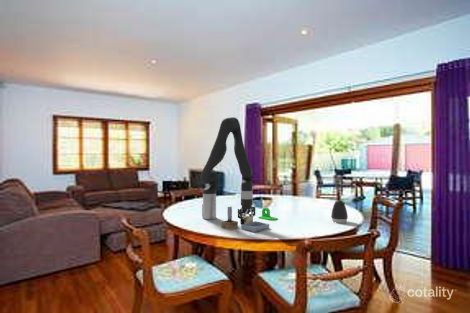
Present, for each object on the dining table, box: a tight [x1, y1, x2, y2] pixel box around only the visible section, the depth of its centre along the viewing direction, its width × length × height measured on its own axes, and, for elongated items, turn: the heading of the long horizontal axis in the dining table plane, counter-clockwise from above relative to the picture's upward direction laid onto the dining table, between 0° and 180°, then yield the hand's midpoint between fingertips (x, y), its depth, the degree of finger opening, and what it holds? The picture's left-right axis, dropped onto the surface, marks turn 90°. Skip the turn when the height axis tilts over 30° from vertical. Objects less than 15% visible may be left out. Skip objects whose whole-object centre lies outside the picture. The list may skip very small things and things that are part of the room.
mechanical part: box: [258, 207, 278, 221], centre depth 204 cm, size 12×6×8 cm, turn 47°
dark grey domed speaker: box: [330, 199, 349, 224], centre depth 194 cm, size 10×10×15 cm
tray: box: [240, 221, 270, 234], centre depth 177 cm, size 11×13×3 cm
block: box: [244, 215, 252, 224], centre depth 185 cm, size 5×5×6 cm
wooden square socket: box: [221, 219, 239, 231], centre depth 180 cm, size 7×7×4 cm
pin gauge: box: [227, 206, 233, 223], centre depth 180 cm, size 3×3×12 cm
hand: (246, 223), depth 185 cm, fingers open, 7 cm apart
